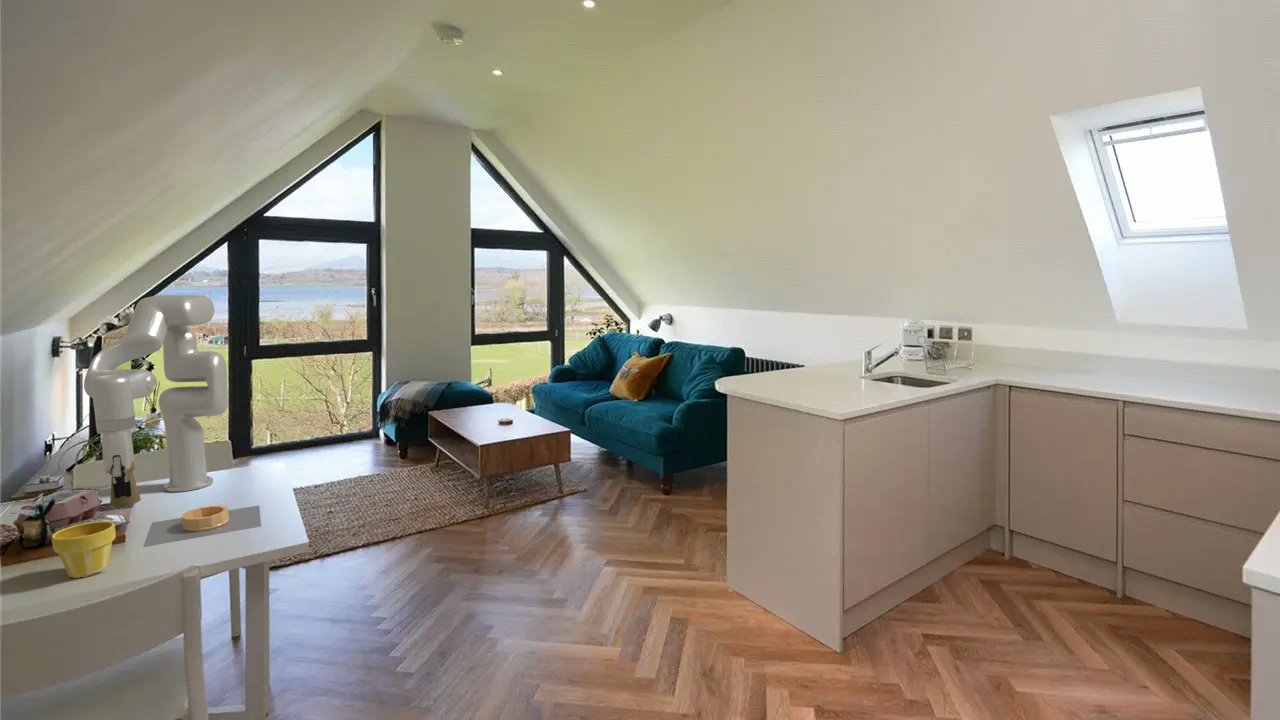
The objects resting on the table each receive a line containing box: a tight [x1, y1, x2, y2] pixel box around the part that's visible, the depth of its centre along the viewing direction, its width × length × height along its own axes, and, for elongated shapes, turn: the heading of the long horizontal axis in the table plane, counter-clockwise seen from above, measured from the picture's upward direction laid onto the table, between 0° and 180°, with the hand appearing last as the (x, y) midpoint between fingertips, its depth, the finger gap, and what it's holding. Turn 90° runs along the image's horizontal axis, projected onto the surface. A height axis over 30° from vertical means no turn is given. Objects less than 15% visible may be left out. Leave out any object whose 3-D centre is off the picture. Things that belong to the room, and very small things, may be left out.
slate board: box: [143, 505, 262, 548], centre depth 161 cm, size 18×24×1 cm
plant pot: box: [51, 520, 117, 579], centre depth 136 cm, size 10×10×10 cm
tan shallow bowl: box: [181, 505, 229, 532], centre depth 161 cm, size 10×10×3 cm
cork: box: [108, 460, 142, 508], centre depth 156 cm, size 6×6×11 cm
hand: (124, 493), depth 157 cm, fingers closed on cork, 4 cm apart
